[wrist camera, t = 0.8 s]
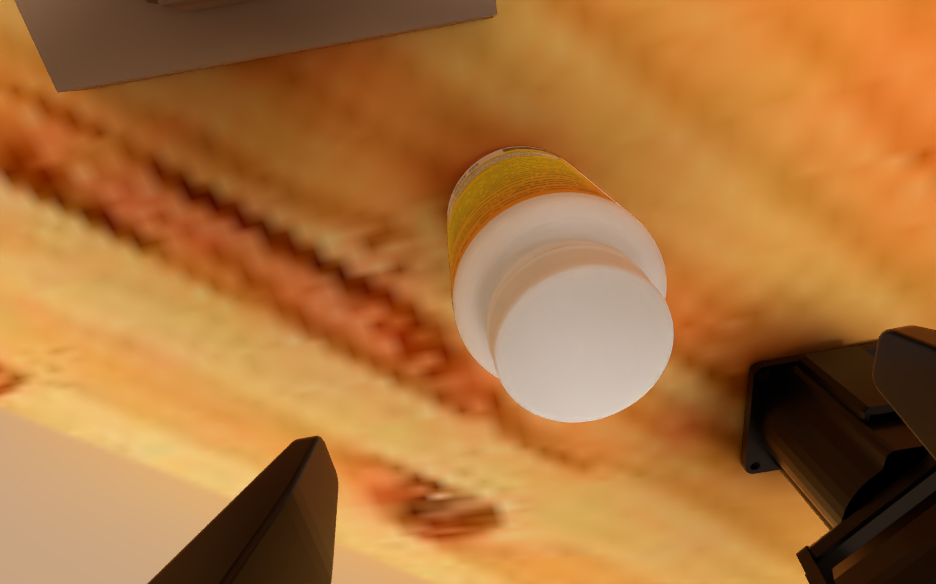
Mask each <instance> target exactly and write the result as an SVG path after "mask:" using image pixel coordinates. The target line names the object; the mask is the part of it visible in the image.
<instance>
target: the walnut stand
mask: <svg viewBox="0 0 936 584" xmlns="http://www.w3.org/2000/svg"><path fill="white" fill-rule="evenodd" d="M15 2H16V4H17V7H18V9H19V11H20V13H21V15H22V17H23V19H24V22H25V24H26V26H27V28H28V30H29V32H30V34H31V37H32V39H33V41H34V43H35V45H36V47H37V49H38V52H39V54H40V56H41V58H42V60H43V62H44V64H45V67H46V69H47V71H48V73H49V75H50V77H51V79H52V82H53V84H54V86H55V88H56V90H57V92H66V91H76V90H87V89H92V88H98V87H104V86H109V85H115V84H121V83H126V82H132V81H138V80H143V79H149V78H154V77H160V76H166V75H171V74H177V73H183V72H188V71H194V70H199V69H205V68H211V67H216V66H222V65H228V64H233V63H239V62H244V61H250V60H256V59H261V58H267V57H273V56H278V55H284V54H289V53H295V52H301V51H306V50H312V49H318V48H323V47H329V46H334V45H340V44H346V43H351V42H357V41H363V40H368V39H374V38H379V37H385V36H391V35H396V34H402V33H408V32H413V31H419V30H425V29H430V28H436V27H441V26H447V25H453V24H458V23H464V22H470V21H475V20H481V19H486V18H492V17H494V16H495V15H497V10H496V1H495V0H15Z"/></svg>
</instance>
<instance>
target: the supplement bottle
mask: <svg viewBox="0 0 936 584" xmlns="http://www.w3.org/2000/svg"><path fill="white" fill-rule="evenodd" d="M447 238H448V250H449V267H450V275H451V291H452V304H453V310H454V316H455V321H456V325H457V328H458V331H459V334H460V336H461V339H462V341H463V343H464V344H465V346H466V348H467V349H468V351H469V352H470V354H471V355H472V356H473V357H474V359H475V360H476V361H477V362H478V363H479V364H480V365H481V366H482V367H483V368H484V369H486V370H487V371H488V372H489V373H491V374H492V375H494V376H495V377H497V378H499V379H500V381H501V383H502V385H503V387H504V389H505V390H506V391H507V393H508V394H509V395H510V396H511V397H512V398H513V399H514V400H515V402H516V403H518V404H519V405H520V406H522V407H523V408H524V409H526V410H527V411H529V412H531V413H533V414H535V415H537V416H540V417H543V418H546V419H550V420H553V421H559V422H572V423H574V422H586V421H593V420H597V419H602V418H605V417H607V416H610V415H613V414H615V413H617V412H620V411H621V410H623V409H625V408H627V407H629V406H630V405H632V404H633V403H635V402H636V401H638V400H639V399H640V398H641V397H642V396H644V395H645V394H646V393H647V392H648V391H649V390H650V389H651V388H652V387H653V386H654V384H655V383H656V382H657V380H658V379H659V378H660V376H661V374H662V372H663V371H664V369H665V367H666V365H667V363H668V360H669V358H670V355H671V352H672V346H673V339H674V329H673V321H672V317H671V313H670V310H669V307H668V305H667V303H666V301H665V299H666V292H667V280H666V270H665V265H664V261H663V258H662V255H661V252H660V250H659V248H658V246H657V244H656V242H655V240H654V239H653V237H652V236H651V234H650V233H649V231H648V230H647V229H646V228H645V226H644V225H643V224H642V223H641V222H640V221H639V220H638V219H637V218H636V217H634V216H633V215H632V214H631V213H629V212H628V211H627V210H626V209H624V208H623V207H622V206H621V205H619V204H618V203H617V202H616V201H615V200H613V199H612V198H611V197H610V196H608V195H607V194H606V193H605V192H604V191H602V190H601V189H600V188H599V187H598V186H596V185H595V184H594V183H593V182H592V181H590V180H589V179H588V178H587V177H585V176H584V175H583V174H582V173H580V172H579V171H578V170H577V169H575V168H574V167H573V166H572V165H570V164H569V163H568V162H566V161H565V160H564V159H562V158H561V157H559V156H558V155H556V154H554V153H552V152H549V151H547V150H544V149H540V148H536V147H529V146H515V147H508V148H503V149H500V150H497V151H494V152H492V153H490V154H488V155H486V156H484V157H483V158H481V159H480V160H478V161H477V162H476V163H474V164H473V165H472V166H471V167H470V168H469V169H468V170H467V171H466V172H465V173H464V174H463V175H462V177H461V178H460V180H459V181H458V183H457V184H456V186H455V188H454V190H453V193H452V195H451V198H450V201H449V205H448V211H447Z"/></svg>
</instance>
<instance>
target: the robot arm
mask: <svg viewBox="0 0 936 584" xmlns="http://www.w3.org/2000/svg"><path fill="white" fill-rule="evenodd" d="M763 371H764V373H763V374H761V375H760V373H761V372H763ZM741 464H742V466H743V467H744V469H745V470H746V471H747V472H748V473H750V474H755V473H761V472H767V471H773V470H780V471H781V472H782V473H783V474H784V476H785V477H786V478H787V479H788V480H789V482H790V483H791V484H792V485H793V486H794V488H795V489H796V490H797V491H798V492H799V494H800V495H801V496H802V497H803V498H804V500H805V501H806V502H807V503H808V504H809V506H810V507H811V508H812V509H813V510H814V512H815V513H816V514H817V515H818V516H819V518H820V519H821V520H822V521H823V522H824V524H825V525H826V526H827V527H828V528H829V530H830V531H829V532H828V533H826V534H825V535H824V536H823V537H821V538H820V539H819V540H818V541H816V542H815V543H814V544H813V545H811V546H810V547H808V546H806V547H804V548H803V549H802V550H800V551H799V552H798V553H797V554H796V555H797V557H798V559H799V561H800V563H801V565H802V567H803V569H804V571H805V573H806V574H805V576H806V578H807V580H808V582H809V584H936V330H933V329H928V328H924V327H919V326H904V327H898V328H893V329H888V330H886V331H884V332H882V333H881V335H880V336H879V339H878V342H875V343H869V344H863V345H857V346H850V347H844V348H838V349H832V350H826V351H820V352H814V353H808V354H803V355H797V356H791V357H785V358H779V359H773V360H767V361H761V362H758V363H755V364H754V365H753V366H752V367H751V368H750V370H749V376H748V387H747V399H746V410H745V422H744V434H743V445H742V457H741ZM337 499H338V478H337V473H336V470H335V468H334V465H333V463H332V460H331V458H330V455H329V452H328V450H327V447H326V445H325V442H324V441H323V439H322V438H321V437H319V436H312V437H307V438H301V439H297V440H295V441H293V442H292V443H291V444H290V445H289V446H288V447H287V448H286V449H285V450H284V451H283V452H282V453H281V454H280V455H279V456H278V457H277V458H276V459H274V460H273V461H272V462H271V463H270V464H269V465H268V466H267V467H266V468H265V469H264V470H263V471H262V472H261V473H260V474H259V475H258V476H257V477H256V478H255V479H254V480H253V481H252V482H251V483H250V484H249V485H248V486H247V487H246V488H245V489H244V490H243V491H242V492H241V493H240V494H239V495H238V496H237V497H236V498H235V499H234V500H233V501H232V502H230V503H229V504H228V506H226V508H224V509H223V510H222V511H221V512H220V513H219V514H218V515H217V516H216V517H215V518H214V519H213V520H212V521H211V522H210V523H209V524H208V525H207V526H206V527H205V528H204V529H203V530H202V531H201V532H200V533H199V534H198V535H197V536H196V537H195V538H194V539H193V540H192V541H191V542H190V543H189V544H188V545H187V546H185V547H184V549H182V550H181V551H180V552H179V554H177V555H176V556H175V557H174V558H173V559H172V560H171V561H170V562H169V563H168V564H167V565H166V566H165V567H164V568H163V569H162V570H161V571H160V572H159V573H158V574H157V575H156V576H155V577H154V578H153V579H152V580H151V581H150V582H149V583H148V584H331V579H332V569H333V556H334V542H335V528H336V513H337Z"/></svg>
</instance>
